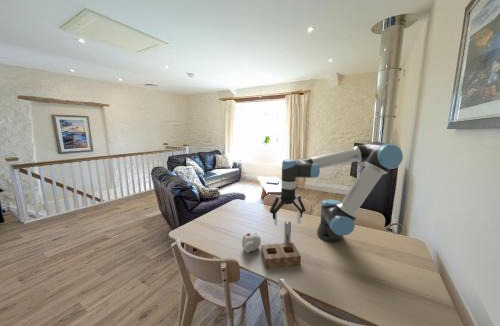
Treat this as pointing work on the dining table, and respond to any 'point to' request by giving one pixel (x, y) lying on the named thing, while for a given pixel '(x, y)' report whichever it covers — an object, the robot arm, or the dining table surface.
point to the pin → (287, 232)
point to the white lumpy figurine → (251, 242)
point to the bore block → (280, 255)
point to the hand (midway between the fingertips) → (287, 223)
